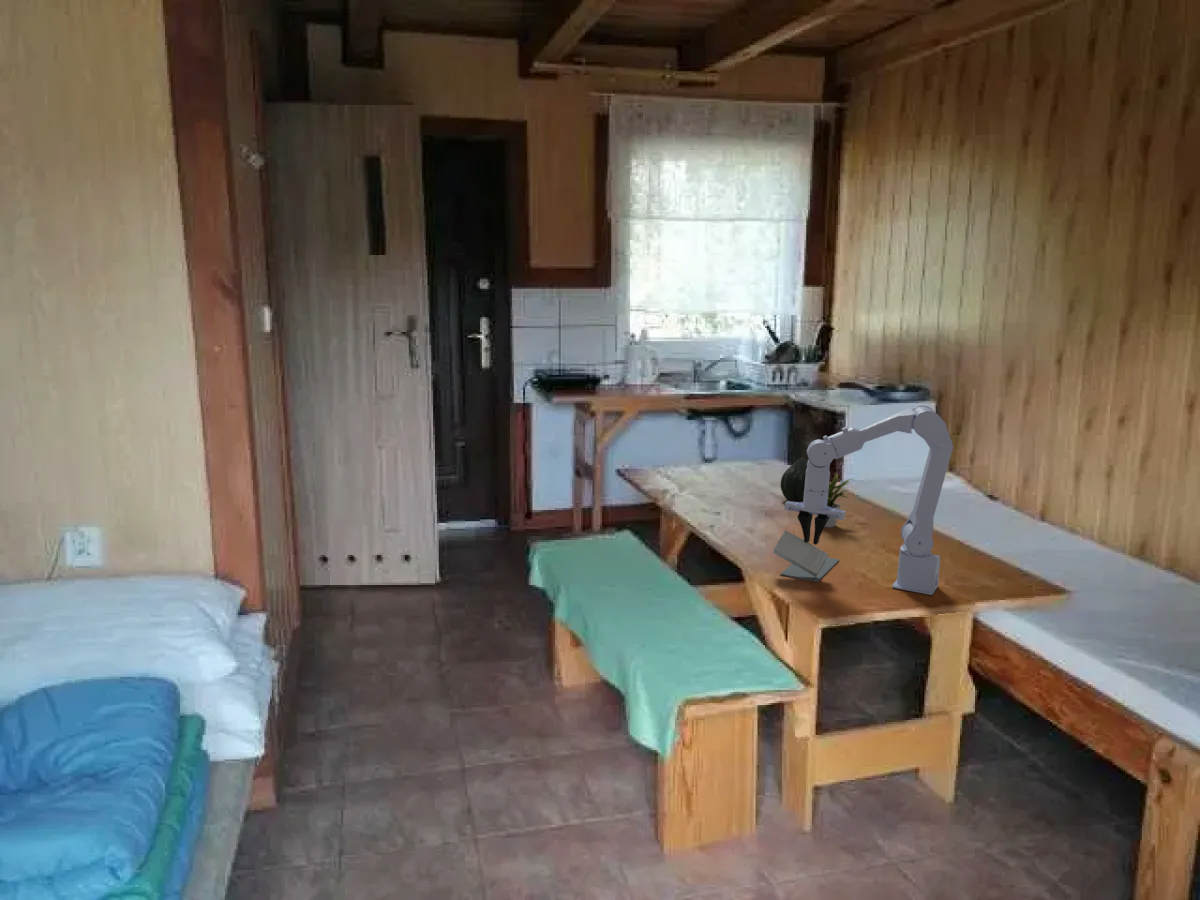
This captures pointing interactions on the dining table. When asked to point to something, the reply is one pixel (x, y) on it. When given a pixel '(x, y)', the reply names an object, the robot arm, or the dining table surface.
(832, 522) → the house plant
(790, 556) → the skincare box
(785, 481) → the squash
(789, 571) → the mat
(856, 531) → the dining table surface
